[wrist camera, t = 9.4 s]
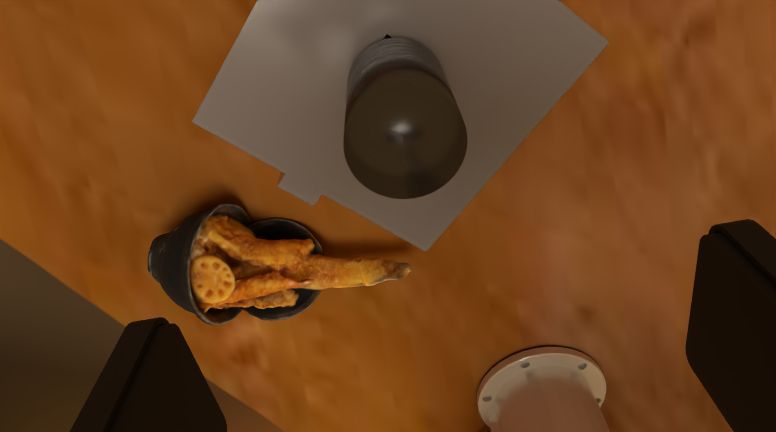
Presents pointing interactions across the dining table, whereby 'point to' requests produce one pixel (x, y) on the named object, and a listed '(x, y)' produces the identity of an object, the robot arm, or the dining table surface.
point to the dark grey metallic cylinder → (402, 121)
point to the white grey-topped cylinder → (329, 88)
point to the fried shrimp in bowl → (253, 266)
